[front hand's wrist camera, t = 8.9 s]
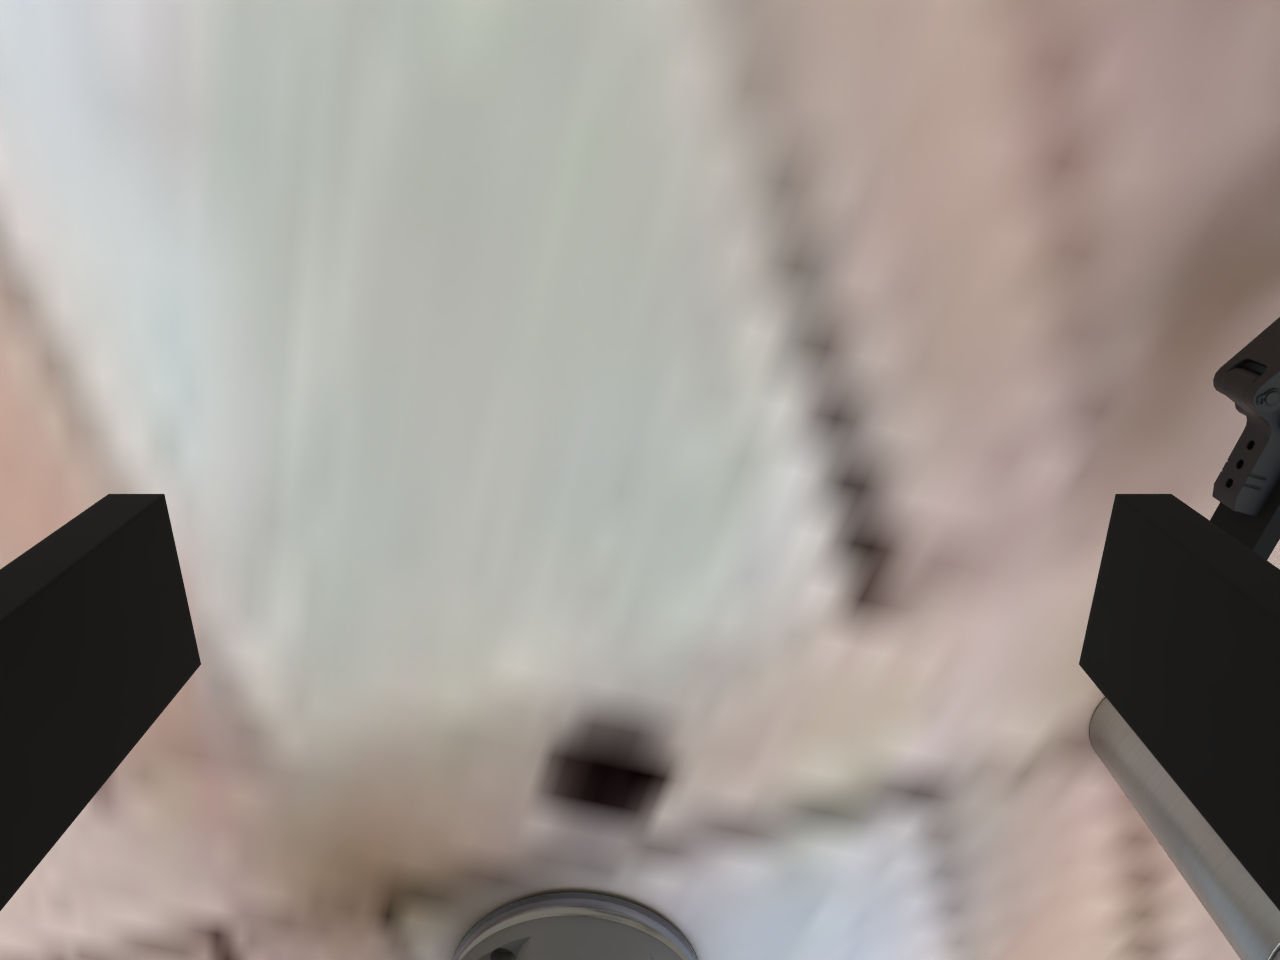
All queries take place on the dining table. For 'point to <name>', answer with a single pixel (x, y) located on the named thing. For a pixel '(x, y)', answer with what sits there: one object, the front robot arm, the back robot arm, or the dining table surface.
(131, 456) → the dining table surface
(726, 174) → the dining table surface
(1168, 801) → the bottle
